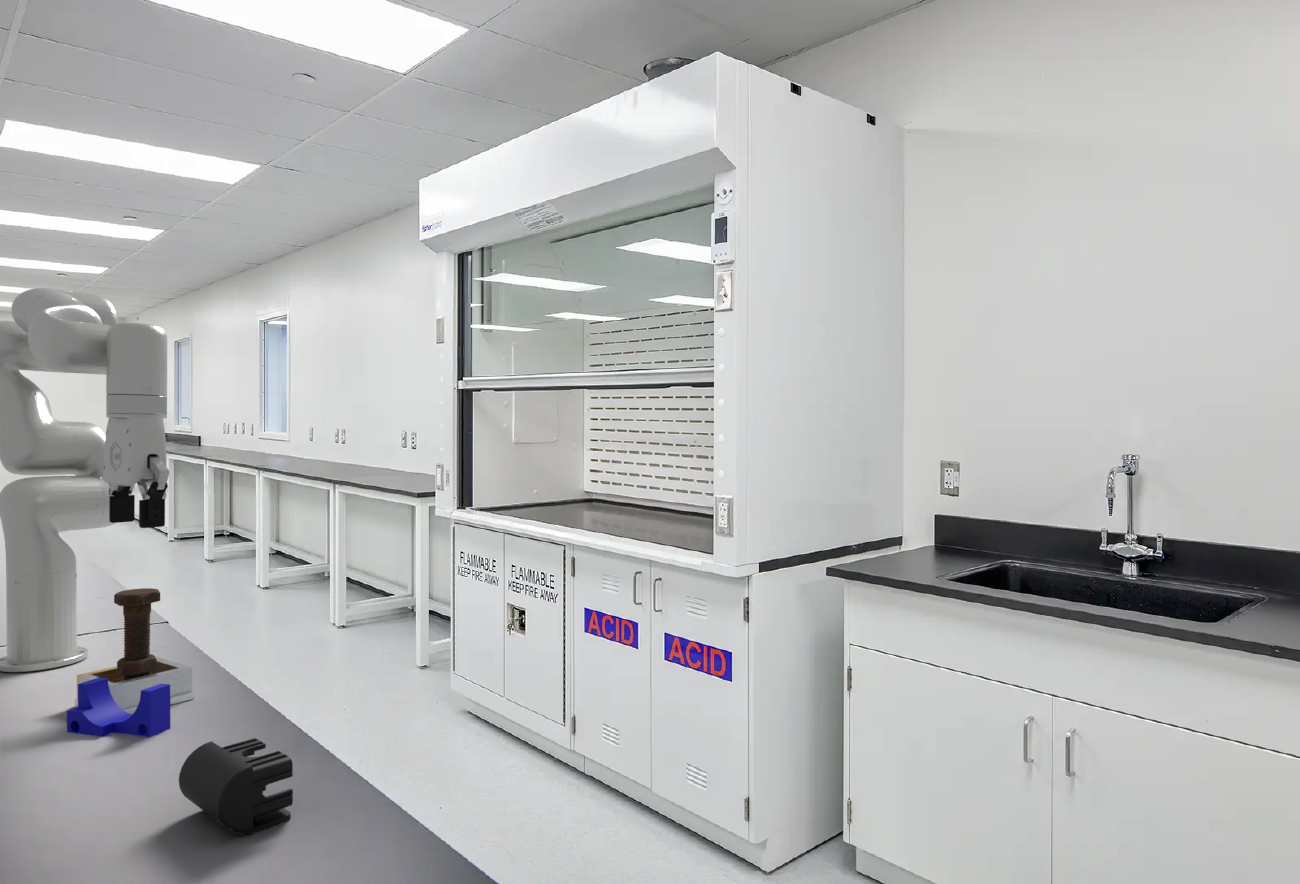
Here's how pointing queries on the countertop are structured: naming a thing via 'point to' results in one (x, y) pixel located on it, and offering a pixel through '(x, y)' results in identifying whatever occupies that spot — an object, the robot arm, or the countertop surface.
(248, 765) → the end cap
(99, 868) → the countertop surface
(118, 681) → the shallow open tray
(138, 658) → the bolt
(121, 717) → the cable clip
